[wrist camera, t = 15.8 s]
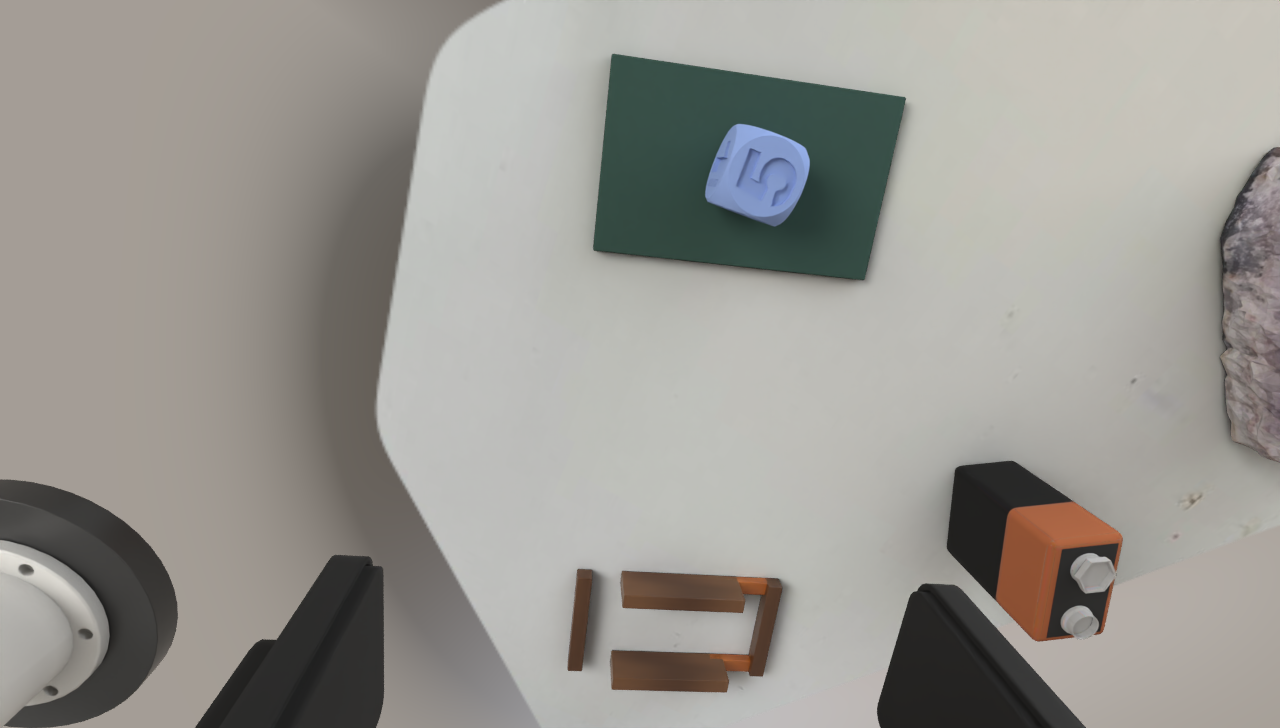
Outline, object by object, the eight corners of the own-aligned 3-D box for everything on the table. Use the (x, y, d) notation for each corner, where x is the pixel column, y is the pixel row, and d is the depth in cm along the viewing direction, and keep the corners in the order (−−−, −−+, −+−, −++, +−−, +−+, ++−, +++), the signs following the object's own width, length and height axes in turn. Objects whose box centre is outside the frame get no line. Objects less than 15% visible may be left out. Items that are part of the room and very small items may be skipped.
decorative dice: (726, 126, 32) (745, 120, 29) (793, 153, 33) (820, 150, 29) (699, 199, 33) (713, 202, 30) (764, 223, 34) (787, 230, 30)
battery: (1014, 457, 41) (1143, 543, 32) (1001, 543, 43) (1120, 649, 34) (952, 463, 41) (1063, 552, 31) (942, 550, 43) (1044, 658, 33)
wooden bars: (567, 660, 43) (566, 688, 41) (577, 568, 41) (576, 593, 38) (759, 666, 45) (769, 693, 42) (778, 578, 42) (789, 602, 40)
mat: (593, 249, 34) (593, 250, 34) (611, 55, 31) (612, 53, 31) (860, 278, 36) (864, 280, 36) (901, 98, 33) (906, 97, 33)
